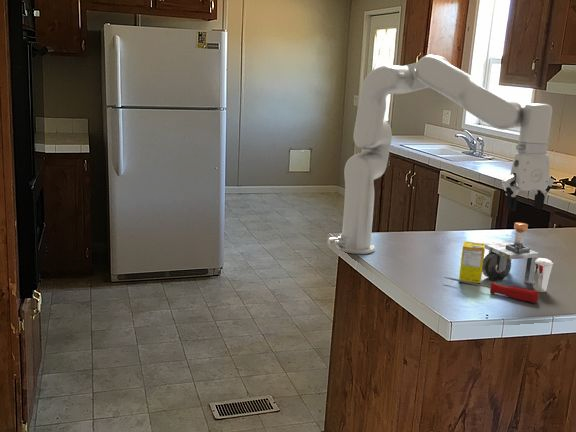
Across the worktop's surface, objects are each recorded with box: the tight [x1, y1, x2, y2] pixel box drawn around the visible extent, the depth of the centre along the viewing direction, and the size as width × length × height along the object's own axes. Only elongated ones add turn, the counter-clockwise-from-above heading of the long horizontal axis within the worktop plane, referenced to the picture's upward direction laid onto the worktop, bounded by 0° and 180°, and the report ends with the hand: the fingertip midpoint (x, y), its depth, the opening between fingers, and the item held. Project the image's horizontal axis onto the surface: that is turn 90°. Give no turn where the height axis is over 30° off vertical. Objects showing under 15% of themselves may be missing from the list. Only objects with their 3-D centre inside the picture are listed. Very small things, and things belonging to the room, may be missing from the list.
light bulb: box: [513, 222, 529, 249], centre depth 171 cm, size 4×4×7 cm
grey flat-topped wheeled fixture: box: [481, 241, 539, 285], centre depth 174 cm, size 13×12×10 cm
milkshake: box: [532, 257, 556, 293], centre depth 166 cm, size 5×5×10 cm
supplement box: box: [458, 240, 486, 285], centre depth 170 cm, size 6×6×11 cm
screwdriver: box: [443, 276, 540, 304], centre depth 163 cm, size 4×25×4 cm, turn 59°
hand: (524, 209), depth 169 cm, fingers open, 9 cm apart
